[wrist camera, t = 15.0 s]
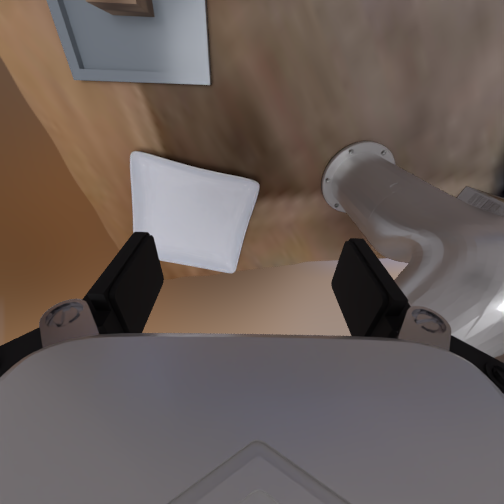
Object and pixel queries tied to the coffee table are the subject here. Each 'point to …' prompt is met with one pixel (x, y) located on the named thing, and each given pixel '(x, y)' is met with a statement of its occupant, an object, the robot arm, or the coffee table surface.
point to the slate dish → (136, 42)
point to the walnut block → (125, 7)
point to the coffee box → (483, 200)
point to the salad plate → (191, 211)
